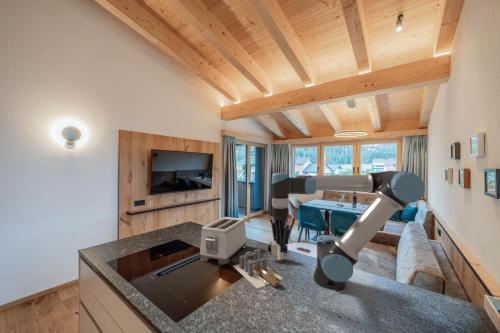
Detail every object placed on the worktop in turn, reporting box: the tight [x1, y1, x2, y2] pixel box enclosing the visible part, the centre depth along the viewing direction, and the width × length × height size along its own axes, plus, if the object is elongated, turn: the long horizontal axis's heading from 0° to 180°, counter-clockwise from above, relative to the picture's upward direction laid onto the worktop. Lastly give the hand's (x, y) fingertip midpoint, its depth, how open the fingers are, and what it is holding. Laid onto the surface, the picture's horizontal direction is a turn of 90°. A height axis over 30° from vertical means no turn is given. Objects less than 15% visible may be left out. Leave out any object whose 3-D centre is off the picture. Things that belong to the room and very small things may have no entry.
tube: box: [253, 263, 281, 288], centre depth 107 cm, size 18×4×4 cm, turn 31°
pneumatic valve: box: [267, 241, 289, 262], centre depth 127 cm, size 6×12×12 cm, turn 78°
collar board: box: [232, 248, 284, 289], centre depth 113 cm, size 26×16×11 cm, turn 31°
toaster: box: [199, 216, 248, 265], centre depth 140 cm, size 19×34×21 cm, turn 157°
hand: (280, 258), depth 95 cm, fingers closed
